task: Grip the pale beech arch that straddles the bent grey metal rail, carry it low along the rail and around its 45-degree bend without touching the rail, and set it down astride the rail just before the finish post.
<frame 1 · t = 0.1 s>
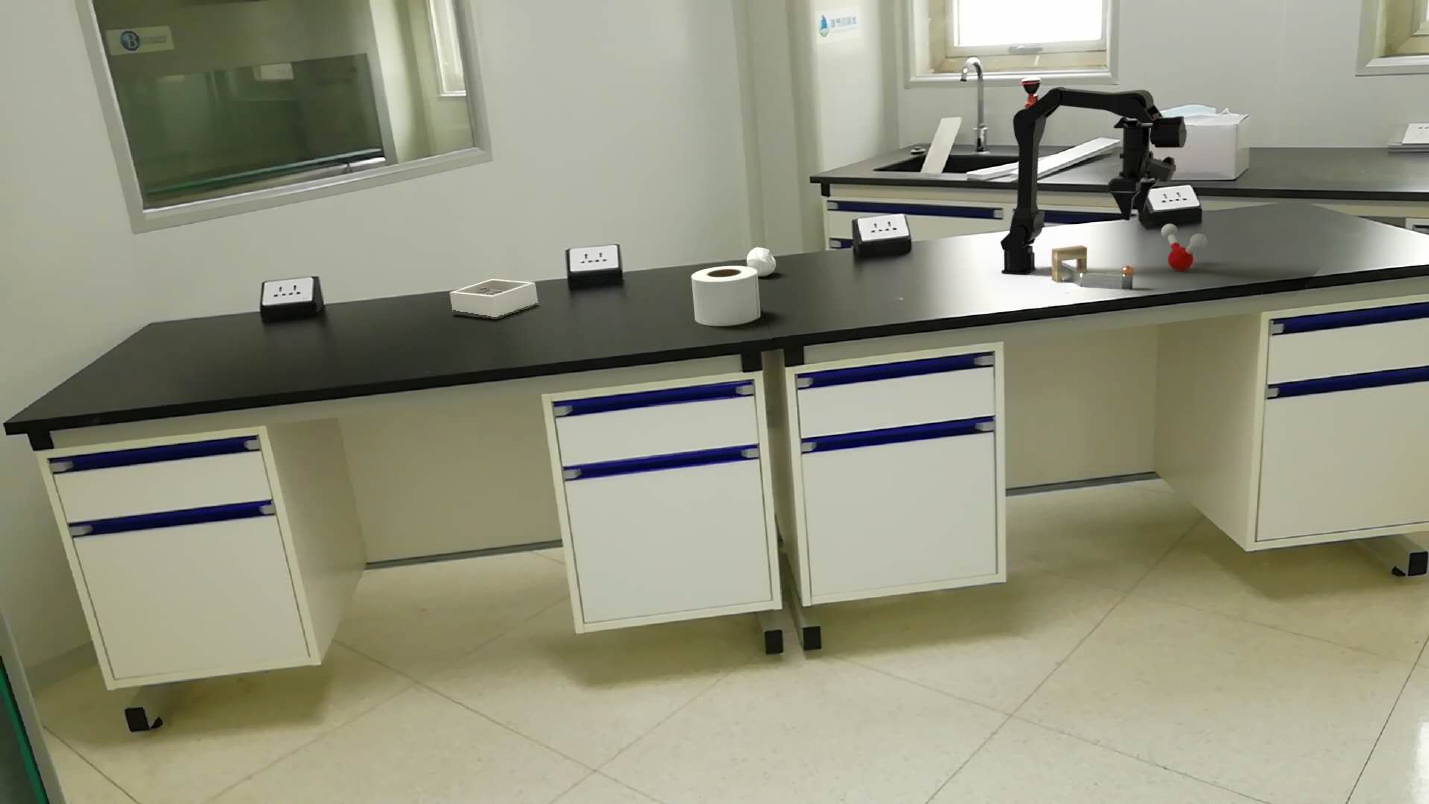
hand: (1134, 216, 268), 15 cm above the counter, tool pointing down, fingers open, 9 cm apart
crumpled paper ball: (762, 276, 310), on the counter
arch: (1069, 279, 277), on the counter
bent rail: (1083, 285, 270), on the counter
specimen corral: (495, 310, 301), on the counter
toilet paper roll: (728, 318, 273), on the counter
rock sample: (495, 311, 301), on the counter
molecular model: (1179, 271, 275), on the counter
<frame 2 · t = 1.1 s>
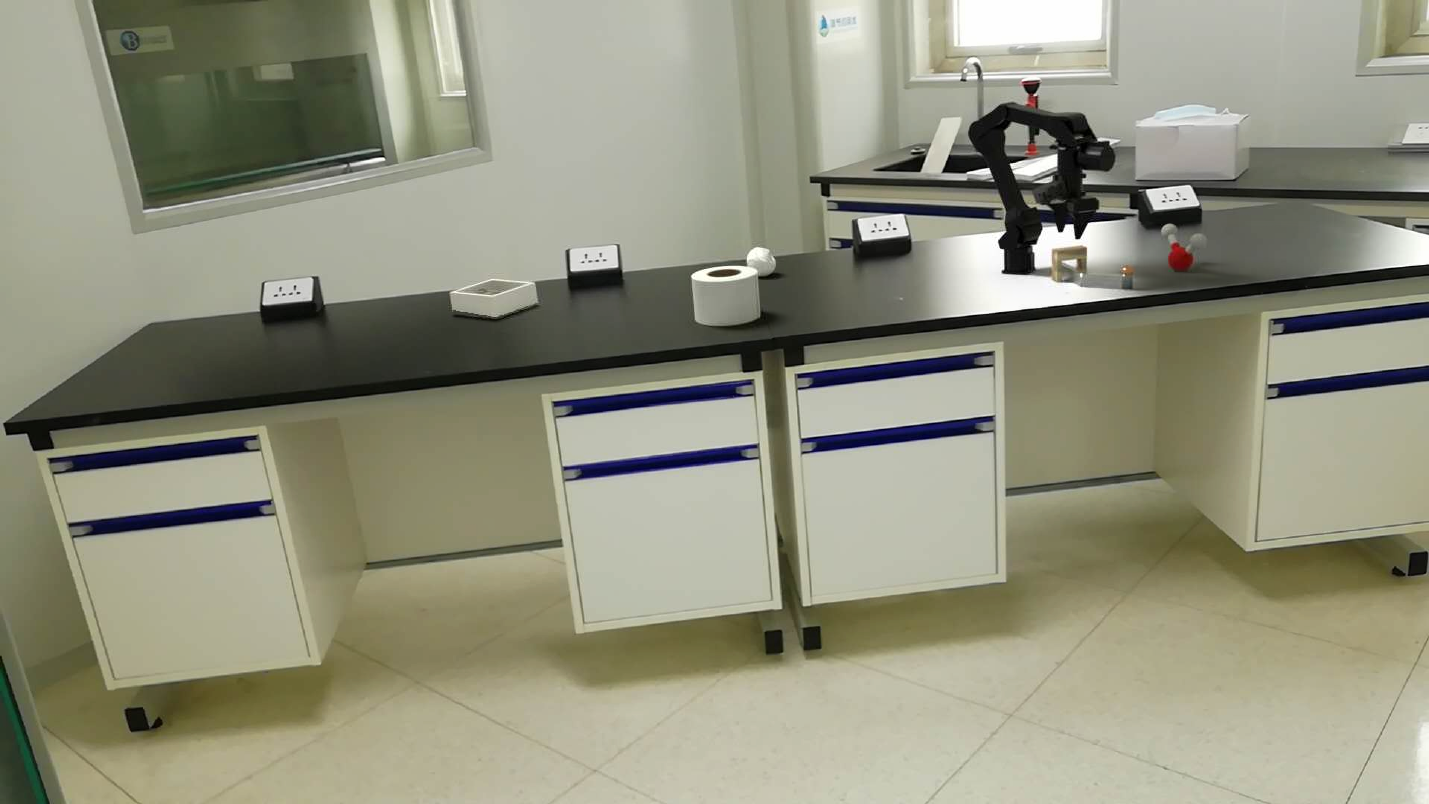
hand: (1069, 235, 274), 10 cm above the counter, tool pointing down, fingers open, 9 cm apart
nothing on the counter moved.
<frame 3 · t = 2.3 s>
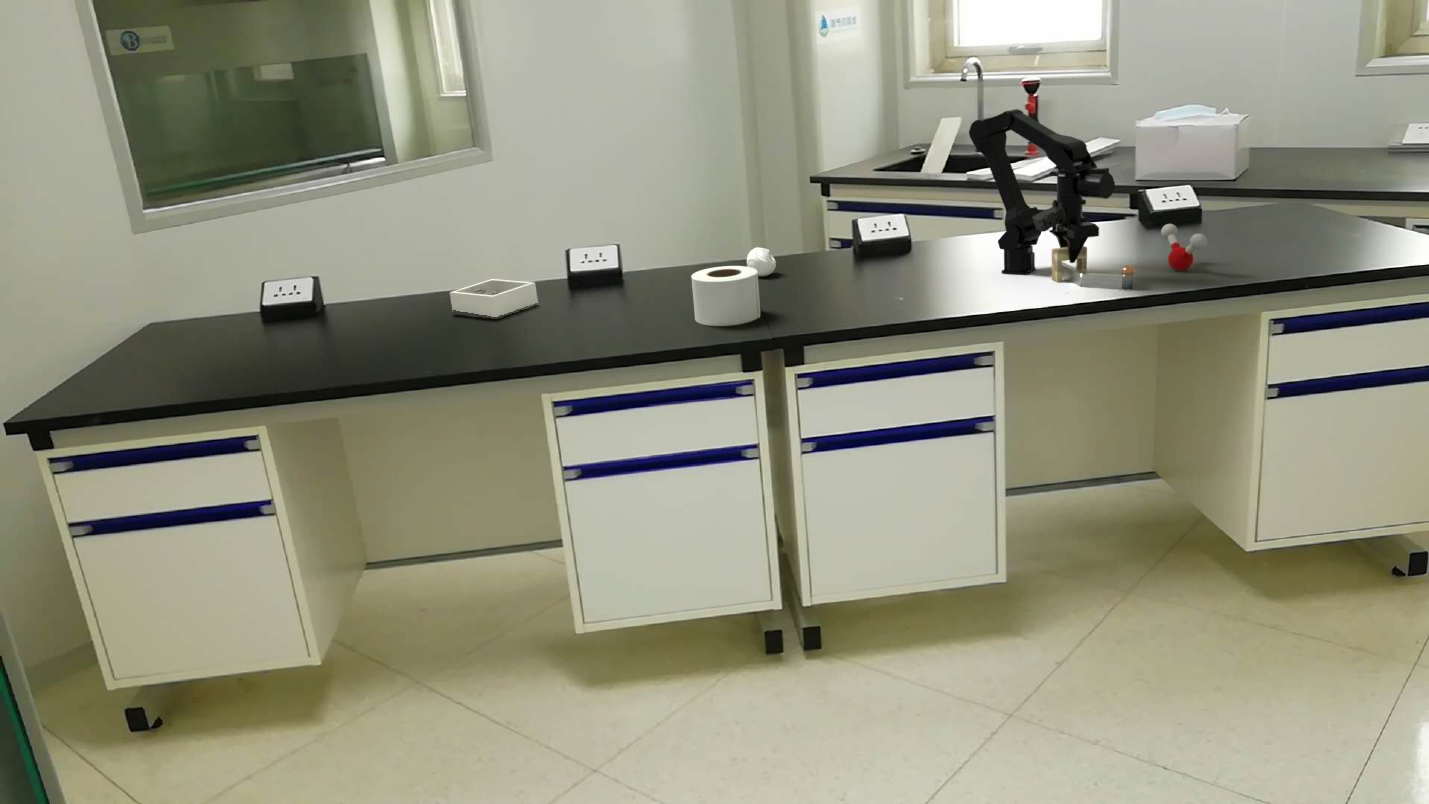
hand: (1069, 261, 276), 4 cm above the counter, tool pointing down, fingers closed on arch, 3 cm apart
arch: (1069, 279, 277), on the counter, touching gripper
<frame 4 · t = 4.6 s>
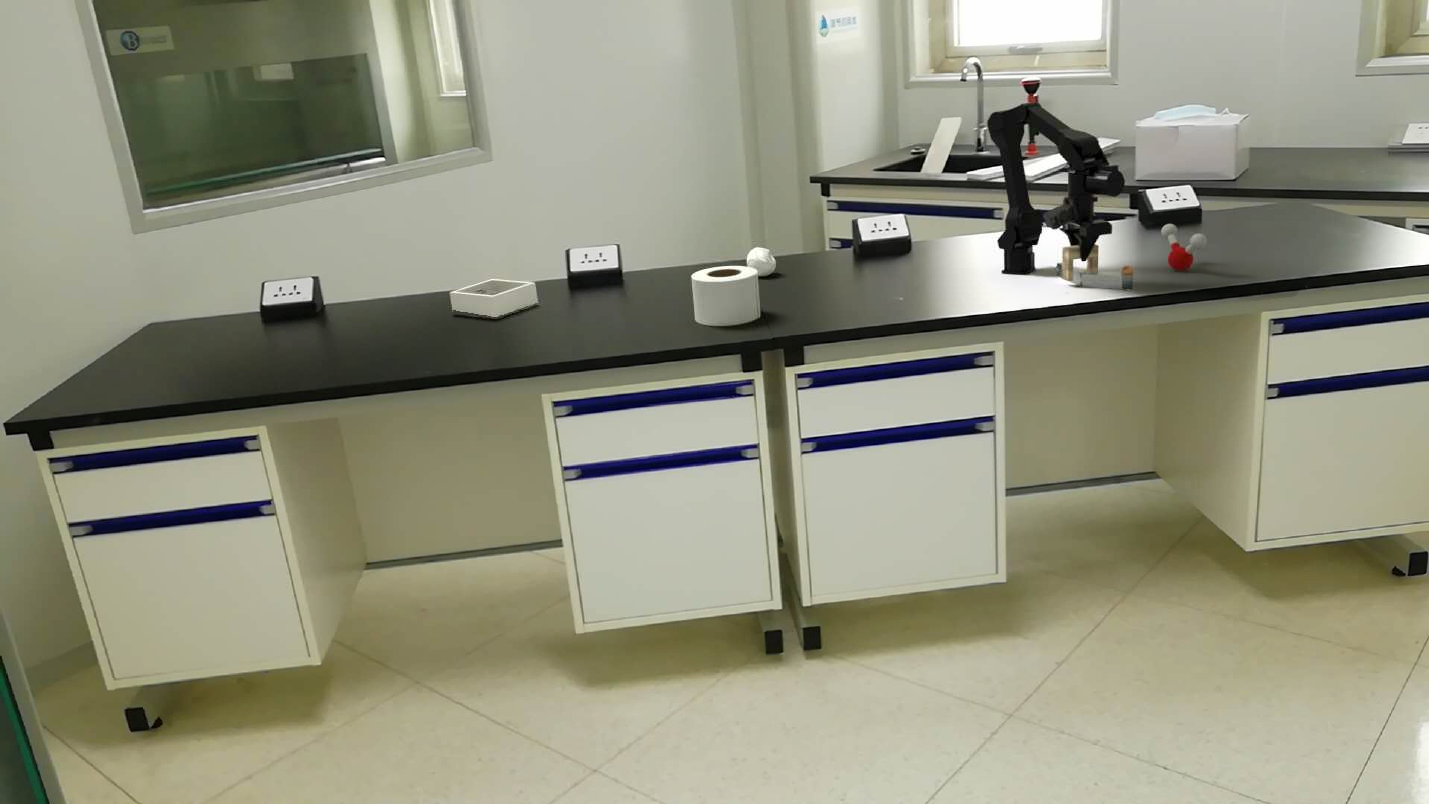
hand: (1080, 259, 270), 6 cm above the counter, tool pointing down, fingers closed on arch, 3 cm apart
arch: (1080, 278, 271), point 1 cm above the counter, touching gripper
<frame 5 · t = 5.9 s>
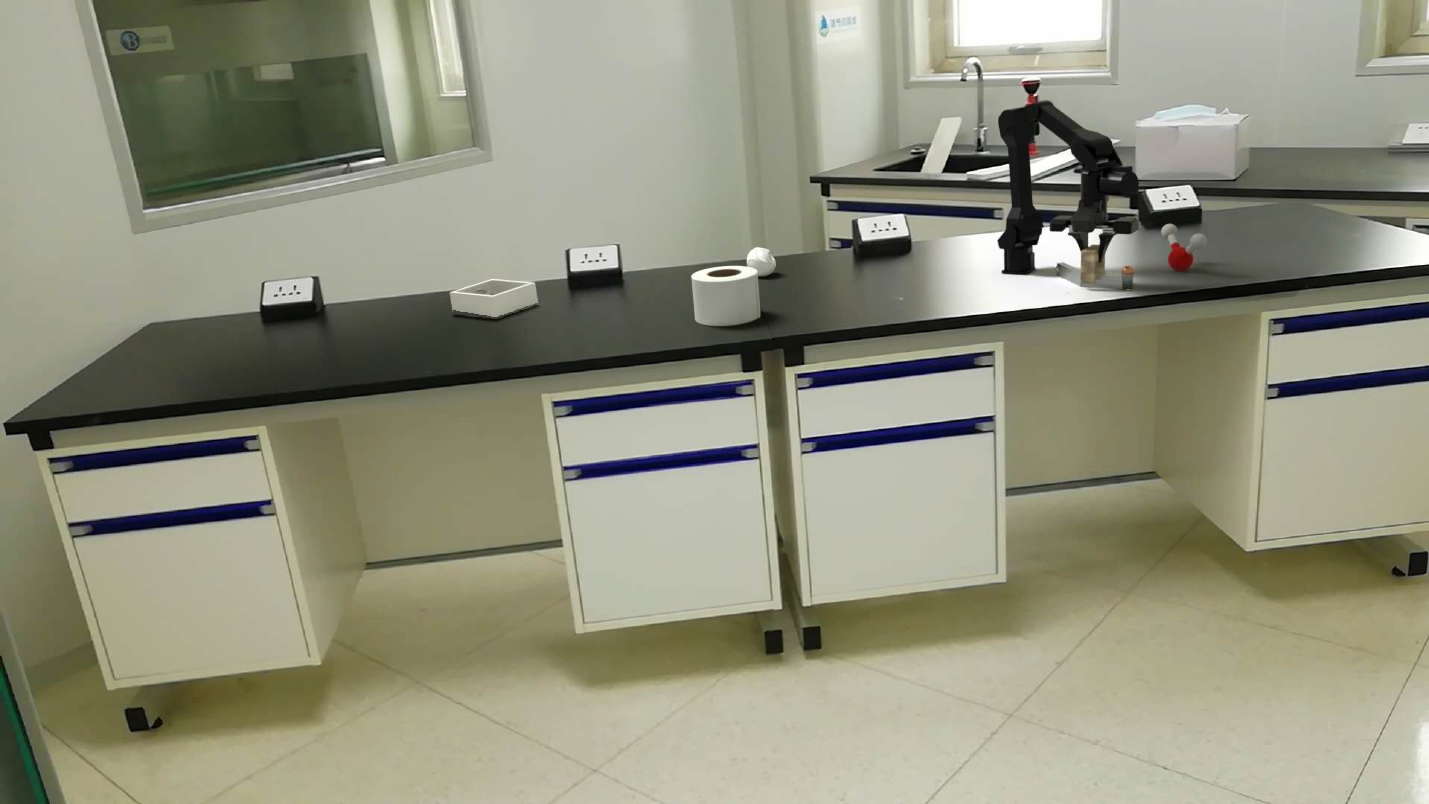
hand: (1093, 261, 267), 6 cm above the counter, tool pointing down, fingers closed on arch, 3 cm apart
arch: (1092, 280, 268), point 2 cm above the counter, touching gripper
when the fingers open (5 cm above the counter, at t = 6.8 s): arch stays where it is, on the counter.
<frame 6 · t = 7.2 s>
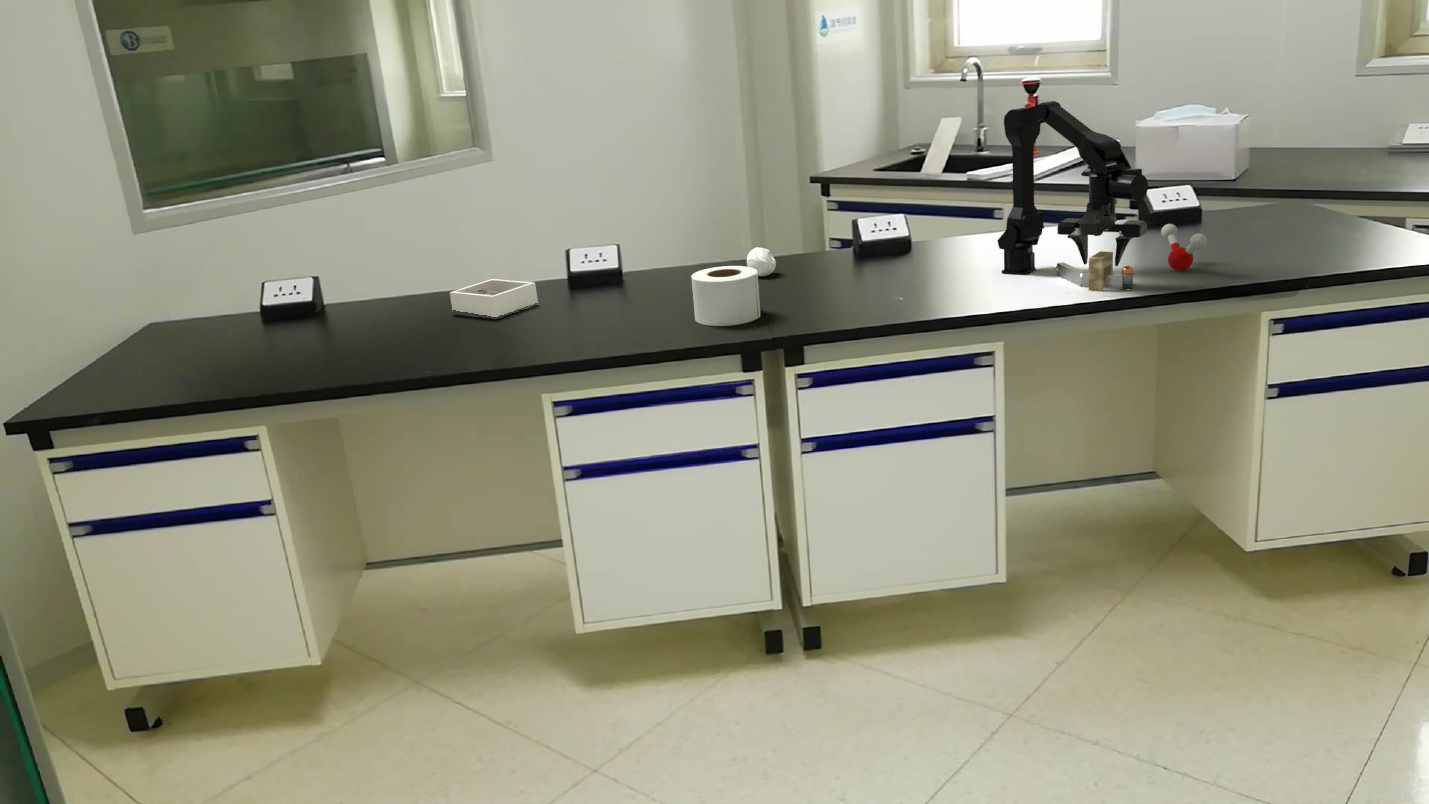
hand: (1100, 264, 266), 5 cm above the counter, tool pointing down, fingers open, 7 cm apart
arch: (1100, 287, 268), on the counter
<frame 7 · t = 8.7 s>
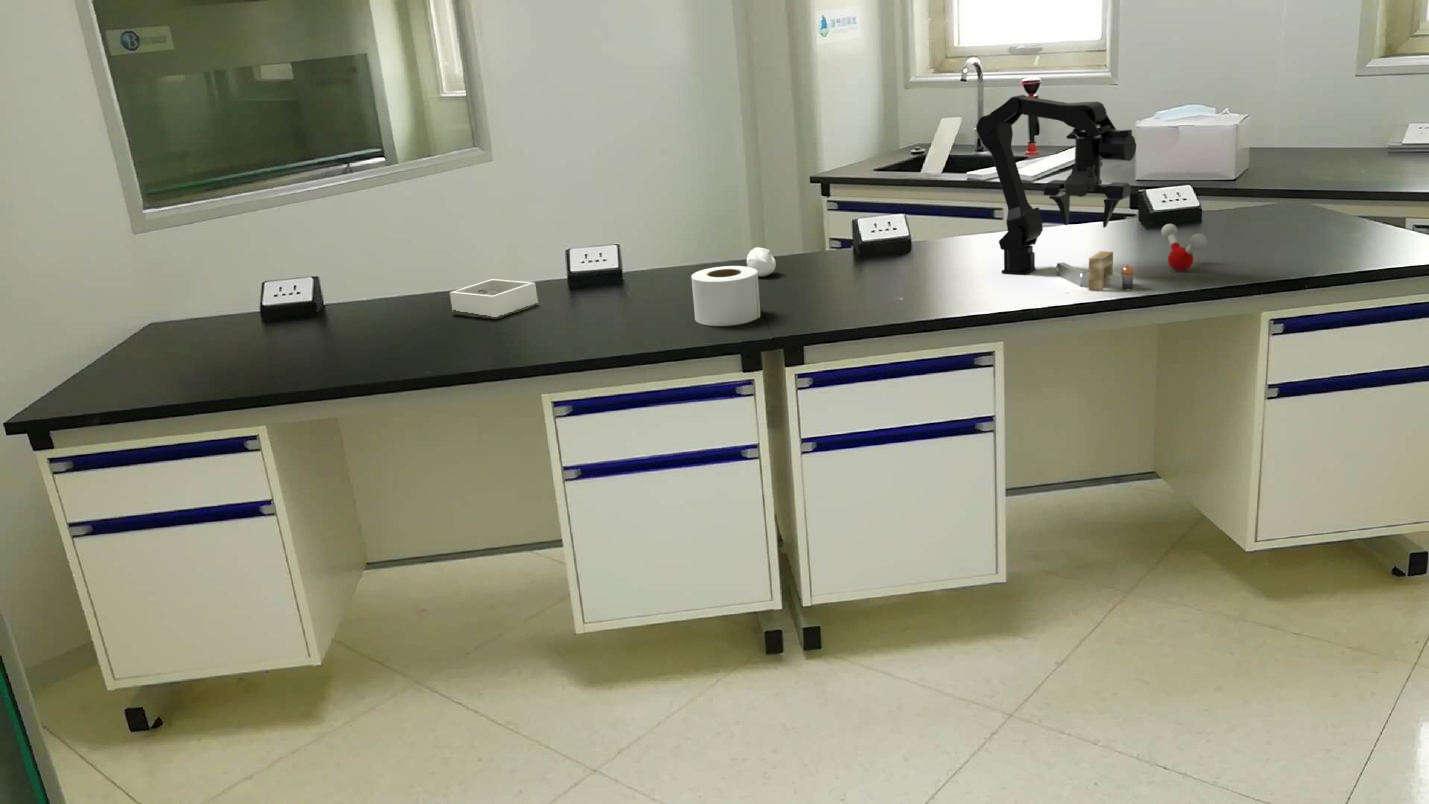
hand: (1085, 225, 272), 13 cm above the counter, tool pointing down, fingers open, 9 cm apart
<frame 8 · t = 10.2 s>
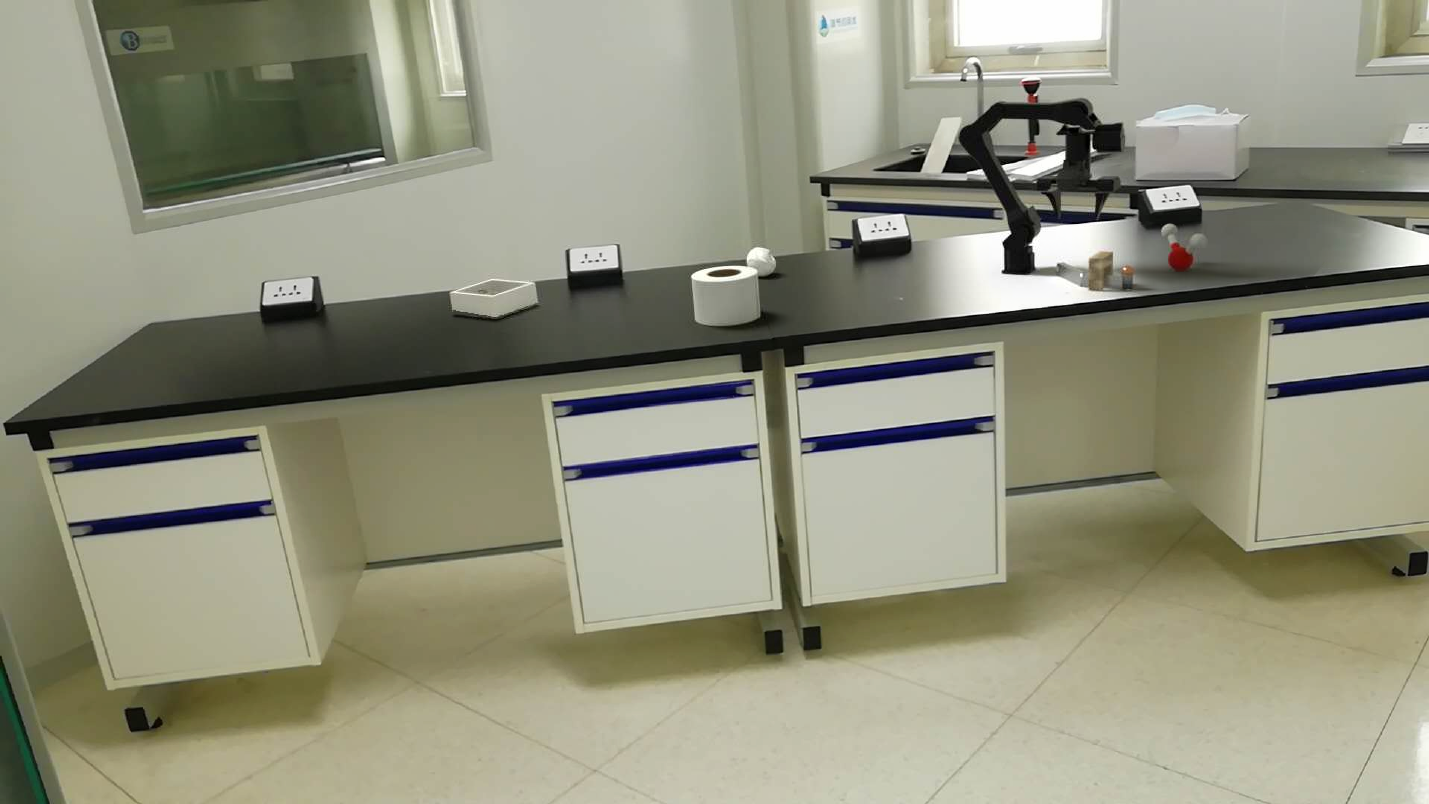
hand: (1077, 219, 278), 13 cm above the counter, tool pointing down, fingers open, 9 cm apart
at the end: arch 0.0 cm from the target spot, on the counter; arch tilted 0°; arch touching counter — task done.
